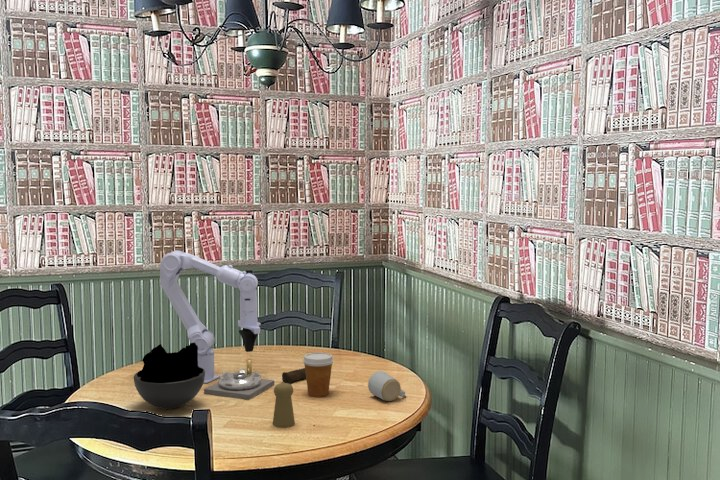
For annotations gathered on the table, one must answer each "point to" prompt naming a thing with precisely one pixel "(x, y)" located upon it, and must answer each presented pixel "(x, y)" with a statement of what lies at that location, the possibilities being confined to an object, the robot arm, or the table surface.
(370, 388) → the ceramic mug
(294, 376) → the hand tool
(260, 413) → the table surface
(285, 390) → the olive pawn figure
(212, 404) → the table surface
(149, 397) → the coal bowl
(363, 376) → the table surface
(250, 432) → the table surface
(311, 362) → the disposable coffee cup
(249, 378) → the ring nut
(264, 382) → the base plate
